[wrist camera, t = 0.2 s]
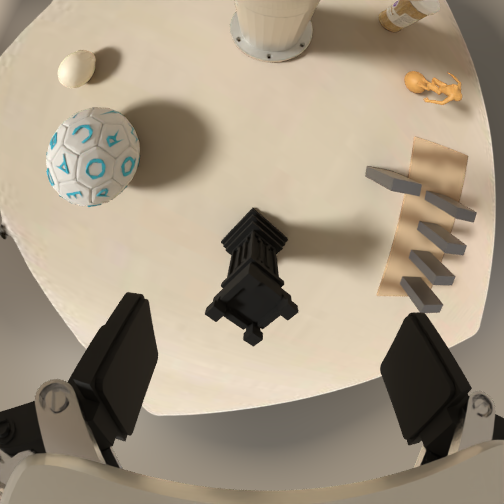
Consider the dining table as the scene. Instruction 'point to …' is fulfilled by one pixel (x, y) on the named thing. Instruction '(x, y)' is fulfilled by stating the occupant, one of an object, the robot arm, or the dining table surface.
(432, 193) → the domino
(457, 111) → the dining table surface
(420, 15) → the sprinkles bottle
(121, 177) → the puzzle ball
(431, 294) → the domino
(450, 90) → the figurine
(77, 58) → the cream round ball
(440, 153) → the cork mat
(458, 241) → the domino
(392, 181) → the domino
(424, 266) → the domino
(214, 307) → the chess piece
